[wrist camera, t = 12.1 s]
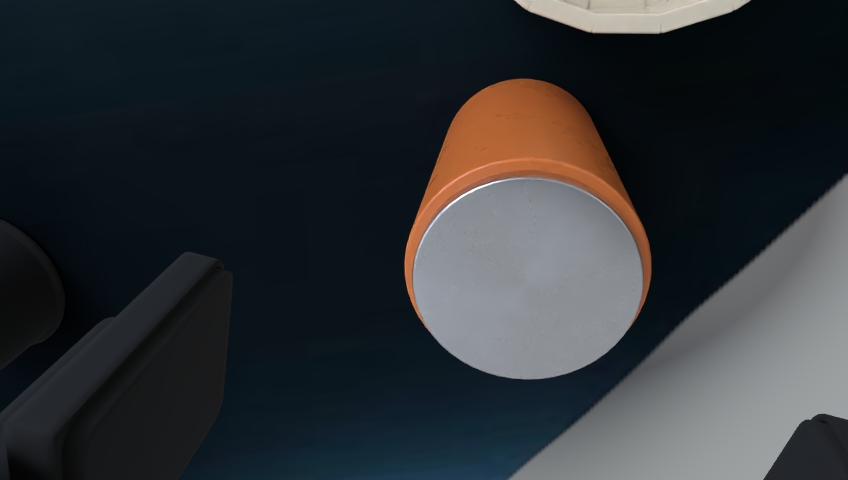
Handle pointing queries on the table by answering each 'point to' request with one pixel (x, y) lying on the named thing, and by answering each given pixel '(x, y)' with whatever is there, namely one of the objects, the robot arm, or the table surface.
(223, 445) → the table surface
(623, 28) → the bowl
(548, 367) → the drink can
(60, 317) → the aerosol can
